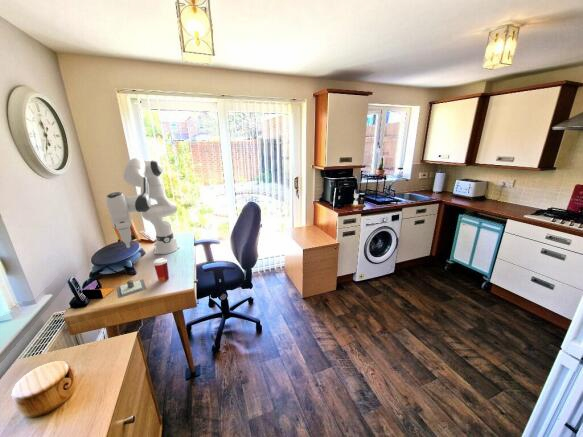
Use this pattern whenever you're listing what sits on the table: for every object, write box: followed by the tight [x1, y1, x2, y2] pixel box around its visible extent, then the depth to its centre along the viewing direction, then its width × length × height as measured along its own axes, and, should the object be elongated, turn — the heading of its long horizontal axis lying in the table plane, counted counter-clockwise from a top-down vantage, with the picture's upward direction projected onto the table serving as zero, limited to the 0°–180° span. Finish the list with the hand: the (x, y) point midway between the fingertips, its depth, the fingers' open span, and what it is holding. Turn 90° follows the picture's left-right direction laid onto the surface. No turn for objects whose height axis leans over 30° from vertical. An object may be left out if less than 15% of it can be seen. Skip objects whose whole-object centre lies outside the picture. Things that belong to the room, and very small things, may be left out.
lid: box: [119, 279, 142, 295], centre depth 140 cm, size 10×10×4 cm
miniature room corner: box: [81, 280, 115, 300], centre depth 135 cm, size 12×12×7 cm
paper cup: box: [152, 257, 170, 283], centre depth 148 cm, size 8×8×14 cm
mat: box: [116, 278, 147, 299], centre depth 141 cm, size 14×14×1 cm
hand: (127, 245), depth 136 cm, fingers open, 8 cm apart
